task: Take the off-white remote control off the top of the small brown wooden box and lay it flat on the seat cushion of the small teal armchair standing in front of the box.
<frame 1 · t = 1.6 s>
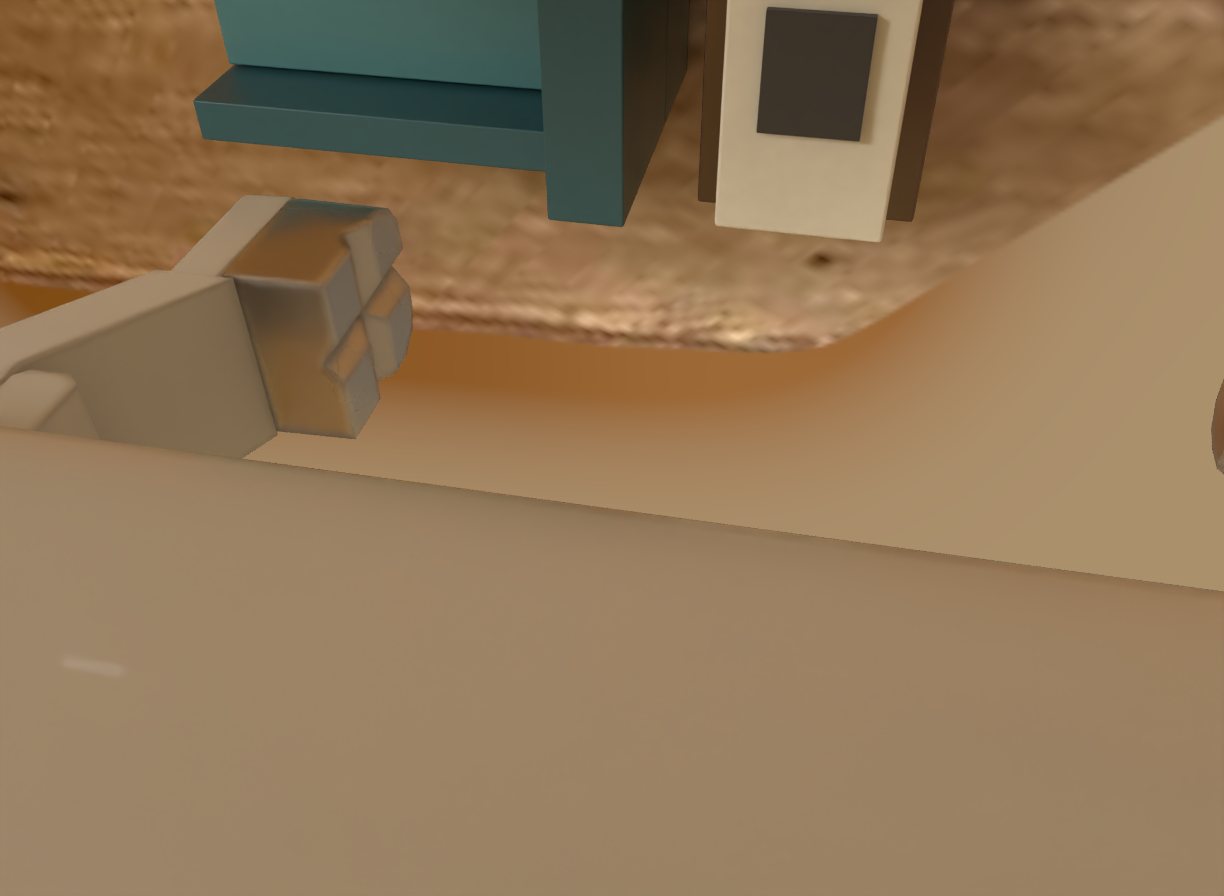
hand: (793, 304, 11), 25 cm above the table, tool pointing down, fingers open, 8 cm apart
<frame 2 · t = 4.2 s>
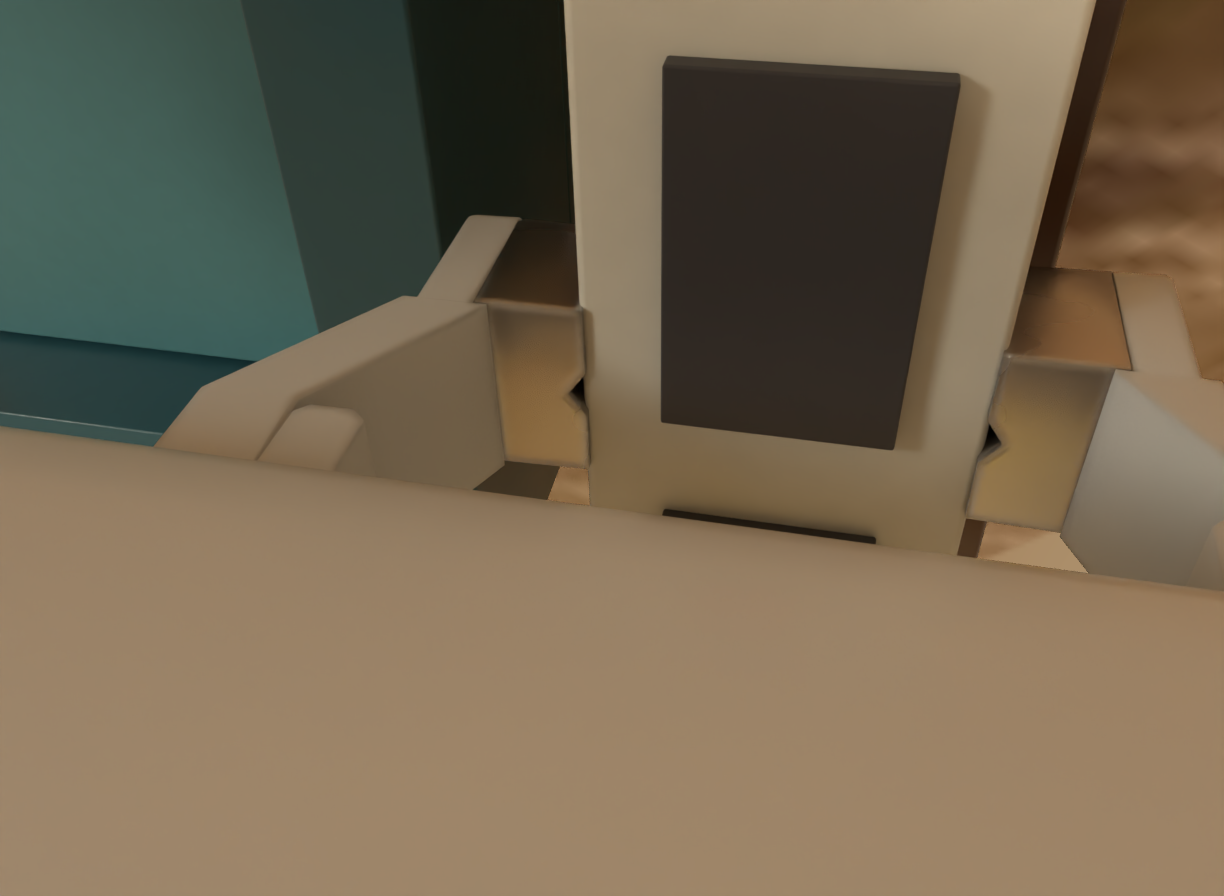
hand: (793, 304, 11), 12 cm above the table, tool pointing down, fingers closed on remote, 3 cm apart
remote: (807, 248, 12), point 11 cm above the table, touching gripper, brown wooden box
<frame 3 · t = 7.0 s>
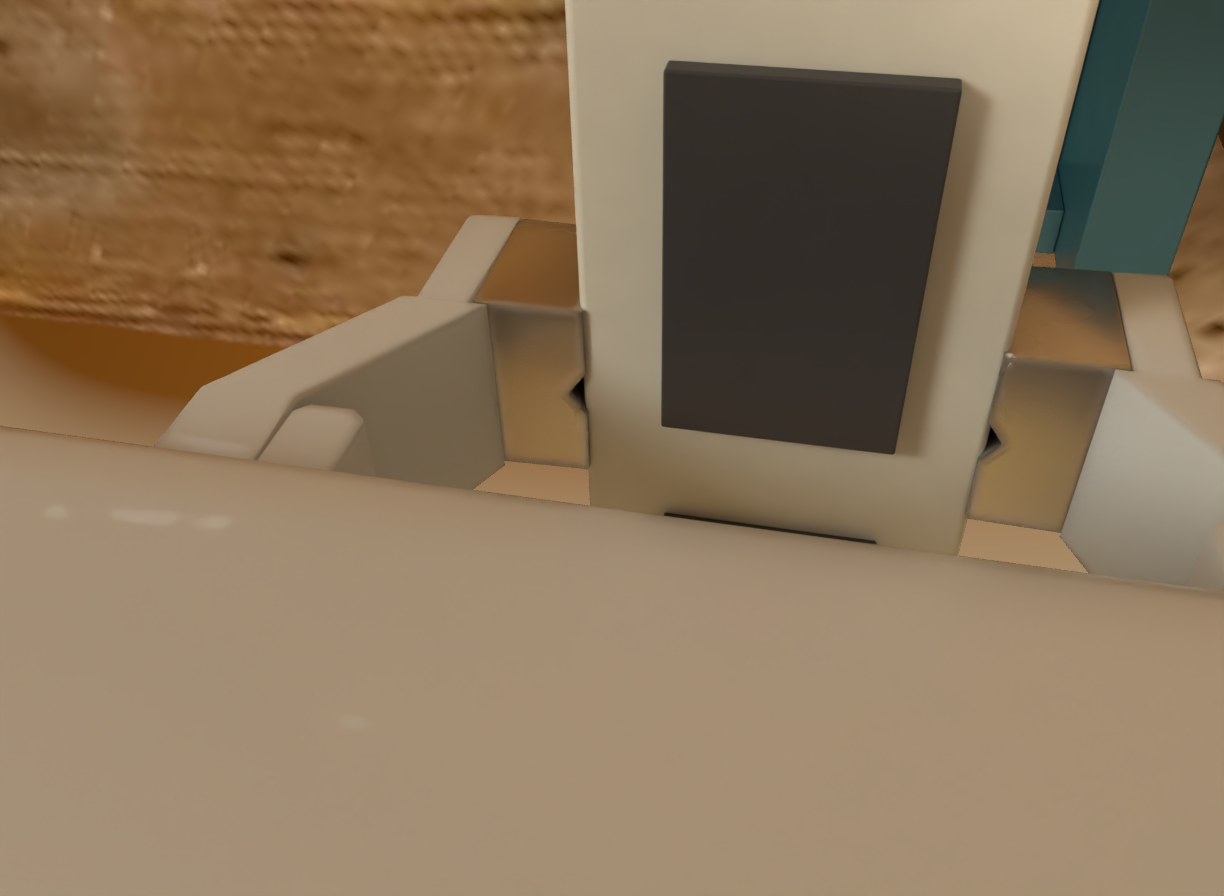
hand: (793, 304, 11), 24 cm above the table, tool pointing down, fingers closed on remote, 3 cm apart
remote: (807, 251, 12), point 23 cm above the table, touching gripper
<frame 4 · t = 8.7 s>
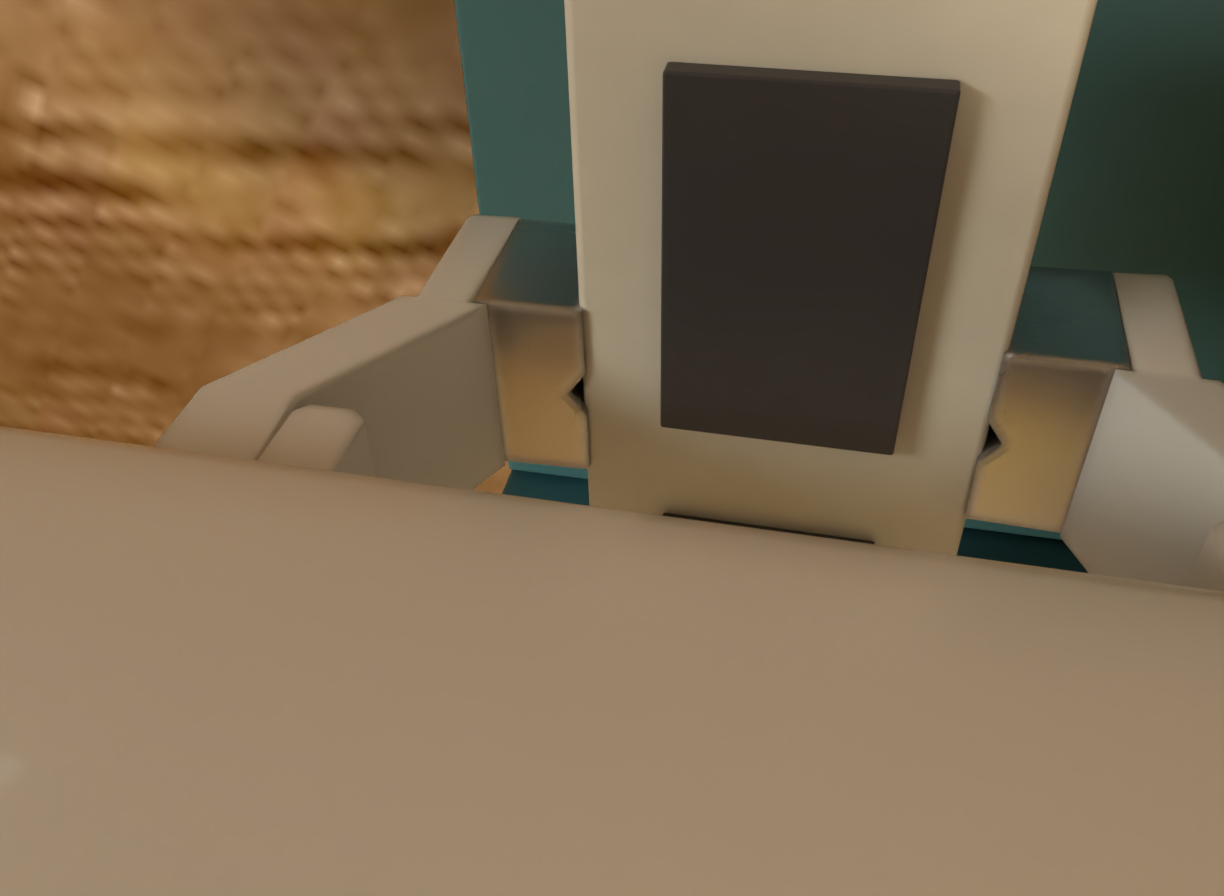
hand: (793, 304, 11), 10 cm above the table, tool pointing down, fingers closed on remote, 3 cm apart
remote: (806, 252, 12), point 9 cm above the table, touching gripper
when the fingers open (6 cm above the table, at t = 10.0 s): remote stays where it is, resting on teal armchair.
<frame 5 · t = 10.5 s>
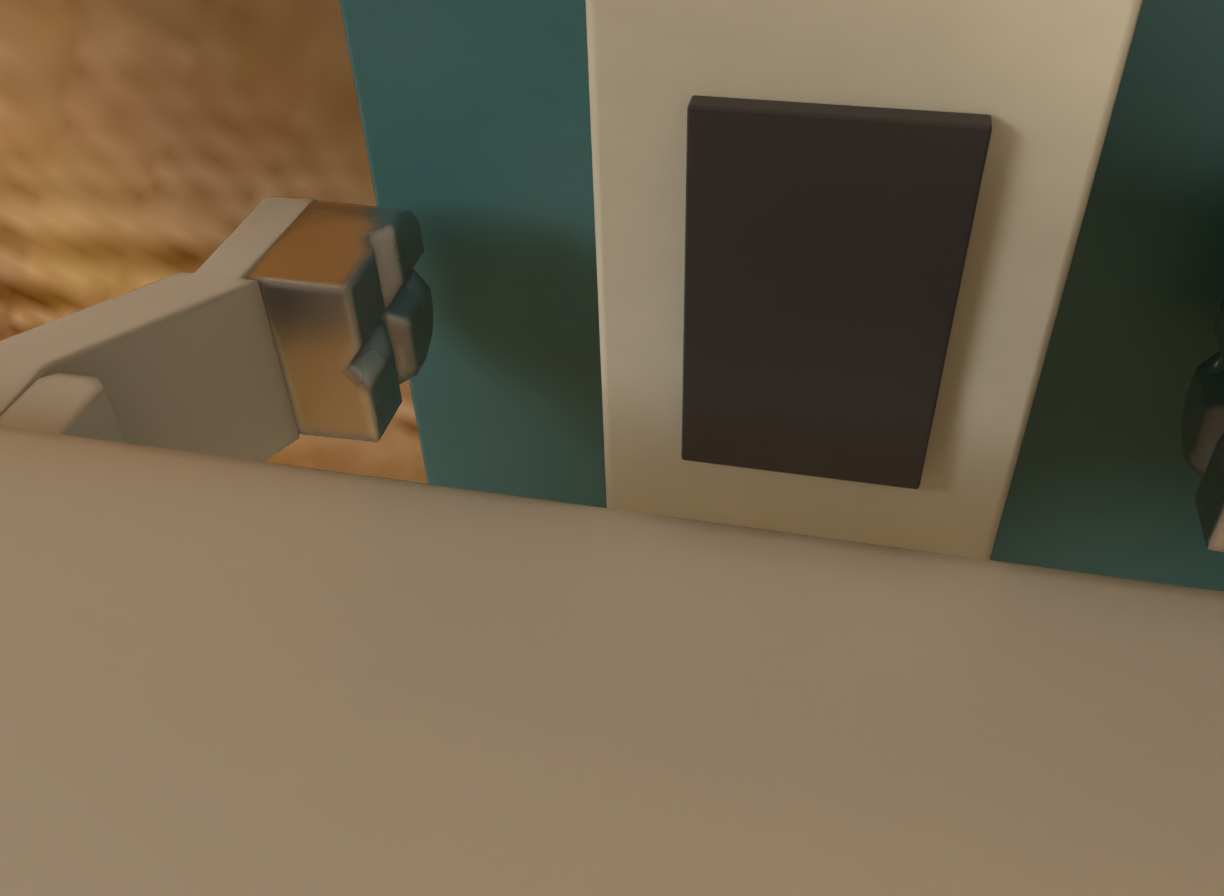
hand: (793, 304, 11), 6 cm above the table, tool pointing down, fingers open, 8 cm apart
remote: (826, 277, 12), point 5 cm above the table, touching teal armchair
teal armchair: (976, 75, 15), on the table
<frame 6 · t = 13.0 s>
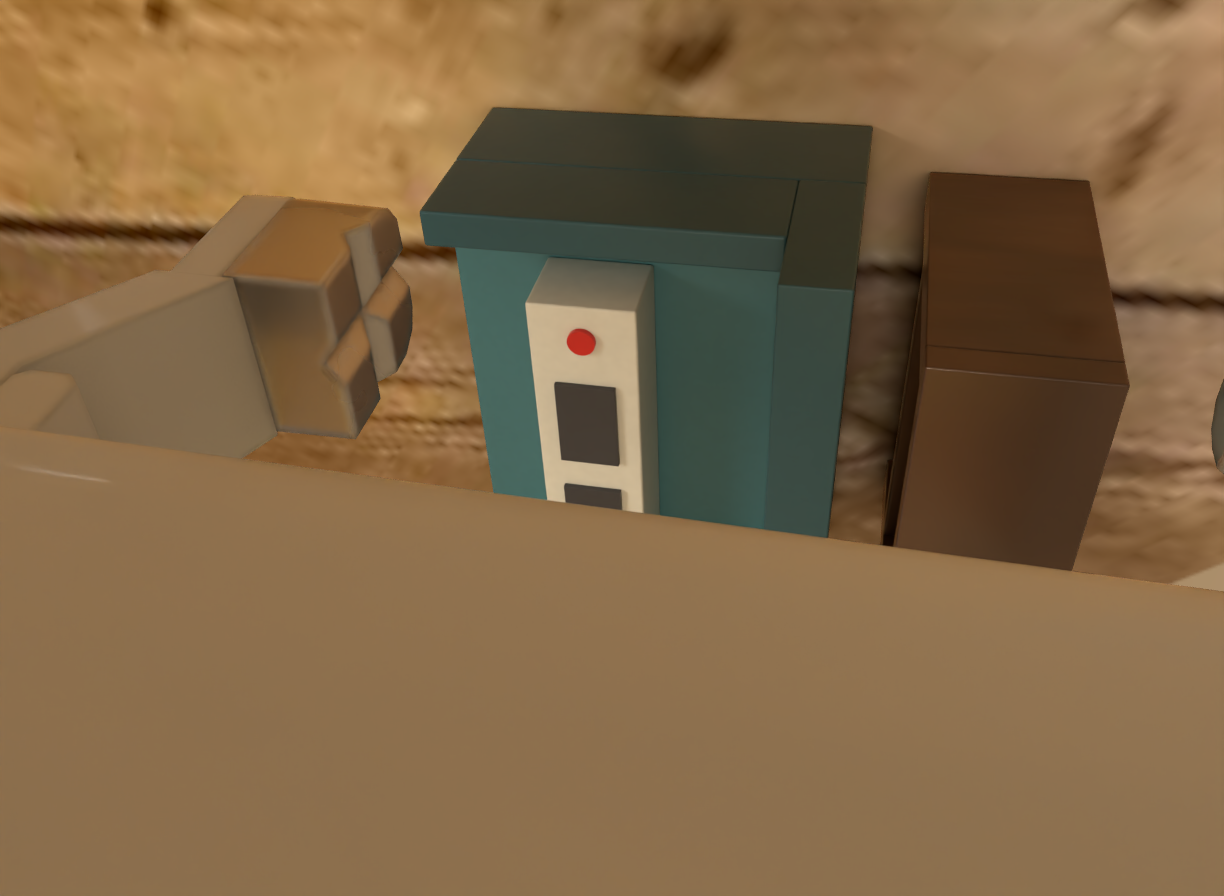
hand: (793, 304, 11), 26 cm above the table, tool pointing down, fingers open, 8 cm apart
brown wooden box: (974, 351, 41), on the table
remote: (609, 406, 40), point 5 cm above the table, touching teal armchair
teal armchair: (678, 325, 44), on the table
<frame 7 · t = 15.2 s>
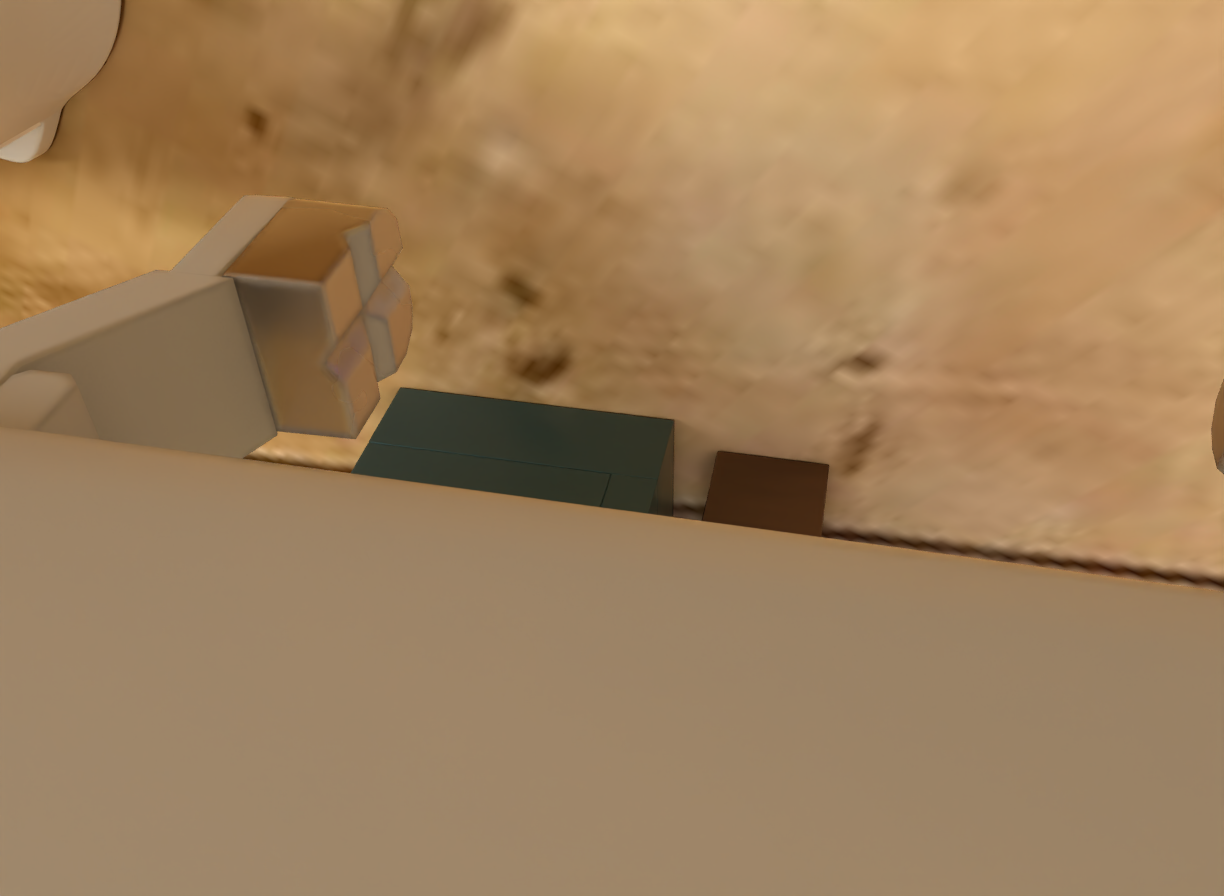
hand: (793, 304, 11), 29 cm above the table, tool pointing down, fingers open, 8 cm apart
brown wooden box: (763, 565, 55), on the table
teal armchair: (545, 534, 57), on the table
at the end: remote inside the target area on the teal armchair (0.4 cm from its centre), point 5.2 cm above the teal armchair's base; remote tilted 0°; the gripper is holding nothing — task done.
